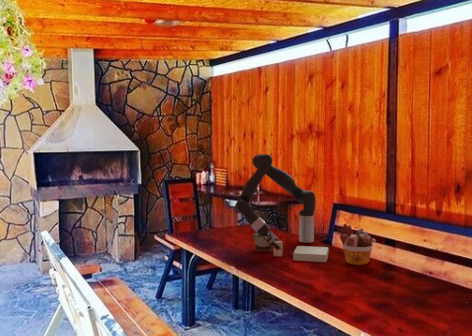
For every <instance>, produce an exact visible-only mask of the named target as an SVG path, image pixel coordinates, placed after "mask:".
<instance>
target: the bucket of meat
mask: <svg viewBox="0 0 472 336" xmlns="http://www.w3.org/2000/svg"><path fill="white" fill-rule="evenodd" d="M342 226H343V228H340V229H339V232H340V236H339V239H340V242H341V243H342V249H343V253H344V258H345V261H346V263H347V264H350V265H353V266H365V265H367V264H368V263H369V262H370V258H371V254H372V251H373V246H374V243H376V241H377V240H376V239H375V238H372V237H371V236H370V235H369V233H368V232H367V231H364V228H362V227H360V228H359V229H357V230H356V232H355V233H354V232H353V229H352V226H351V225H347V224H346V223H344V224H343V225H342Z"/></svg>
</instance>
